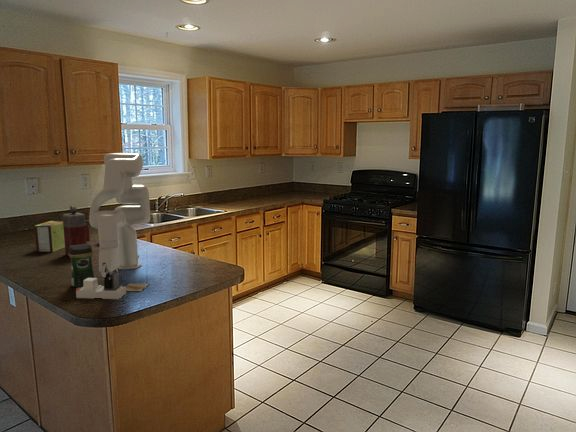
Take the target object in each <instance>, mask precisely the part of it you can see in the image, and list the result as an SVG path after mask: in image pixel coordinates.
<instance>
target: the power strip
mask: <svg viewBox="0 0 576 432" xmlns="http://www.w3.org/2000/svg"><path fill="white" fill-rule="evenodd" d="M124 294H125V295H127V292H126V287H125V286H123V285H119V288H118V289H117V290H115V291H111V290H104V285H101V284H98V277H95V278H87V279H85V280H83V287H76V288H75V295H76V299H94V298H102V299H101V300H120V299H121V298H123V297H124V296H125V295H124ZM123 295H124V296H123ZM122 296H123V297H122ZM119 298H120V299H119Z"/></svg>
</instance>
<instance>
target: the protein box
mask: <svg viewBox="0 0 576 432" xmlns="http://www.w3.org/2000/svg"><path fill="white" fill-rule="evenodd" d="M33 227H34V229H33V230H34V234H35V235H34V237H35V247H36V252H38V253H40V252H42V253H54V252H56V251H58V250H62V249H65V241H64V228H63V220H60V221H59V220H50V221H49V220H48V221H46V222H43V223H39V224H36V225H34V226H33Z"/></svg>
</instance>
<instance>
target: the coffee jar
mask: <svg viewBox="0 0 576 432" xmlns="http://www.w3.org/2000/svg"><path fill="white" fill-rule="evenodd" d="M93 254H94V253H93V248H92V245H91V244H90V243H87V244H79V245H72V246H70V247H69V256H68V257H69V258H70V262H71V265H70V266H71V272H70V274H71V276H70V278H71V279H70V280H71V282H70V283H71V286H72V287H74V288H82V287H83V280H85V279H87V278H96V277H95V273H94V267H93V263H92V262H93V261H92V256H93Z"/></svg>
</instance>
